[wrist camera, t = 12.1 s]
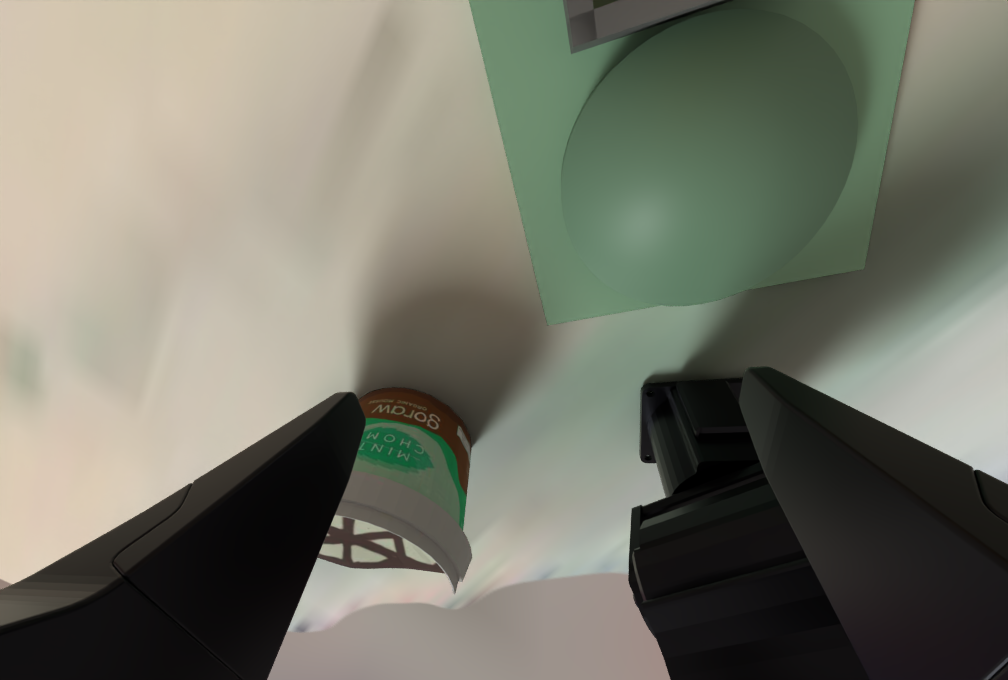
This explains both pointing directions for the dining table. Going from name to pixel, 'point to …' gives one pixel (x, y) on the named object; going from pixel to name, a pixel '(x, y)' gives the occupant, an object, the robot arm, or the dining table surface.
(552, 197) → the green domed base plate
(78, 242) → the dining table surface
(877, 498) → the robot arm
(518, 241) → the dining table surface
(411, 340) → the dining table surface
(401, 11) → the dining table surface
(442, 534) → the food container
